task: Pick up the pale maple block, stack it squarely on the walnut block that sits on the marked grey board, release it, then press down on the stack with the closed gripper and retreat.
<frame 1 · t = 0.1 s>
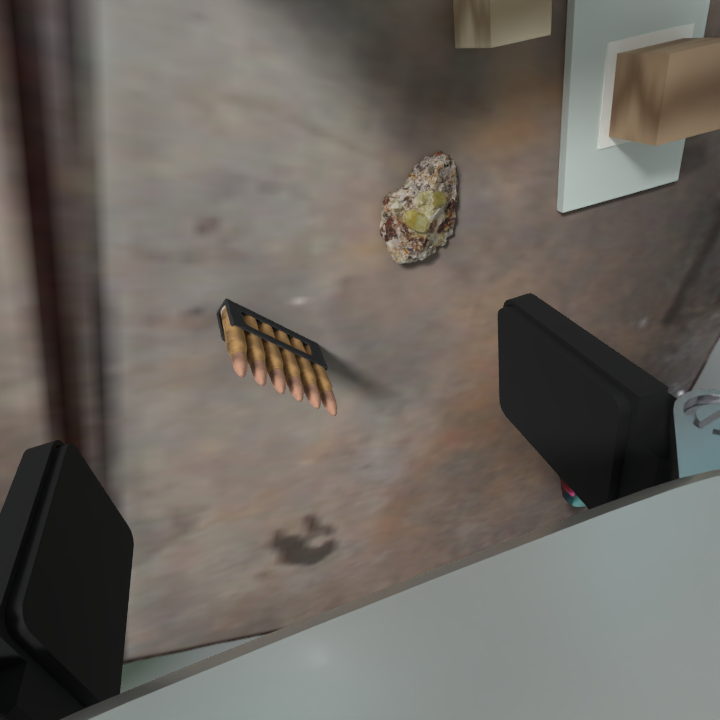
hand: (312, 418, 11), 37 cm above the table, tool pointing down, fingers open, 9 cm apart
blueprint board: (626, 90, 49), on the table
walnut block: (644, 88, 48), point 1 cm above the table, touching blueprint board
ammunition clip: (269, 328, 51), on the table
maple block: (481, 6, 42), on the table
mineral rock: (418, 207, 49), on the table
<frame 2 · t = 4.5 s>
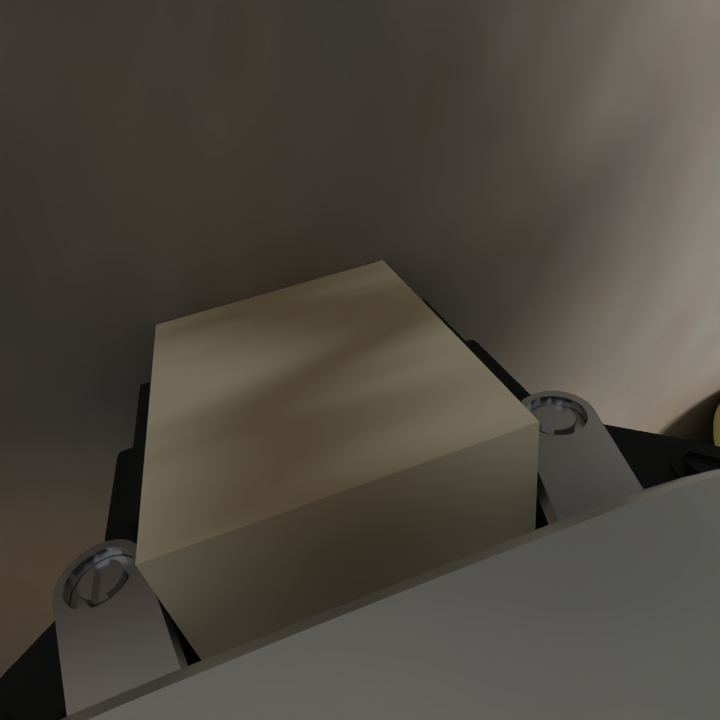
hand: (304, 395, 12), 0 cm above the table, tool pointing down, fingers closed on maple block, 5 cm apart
maple block: (300, 383, 12), on the table, touching gripper
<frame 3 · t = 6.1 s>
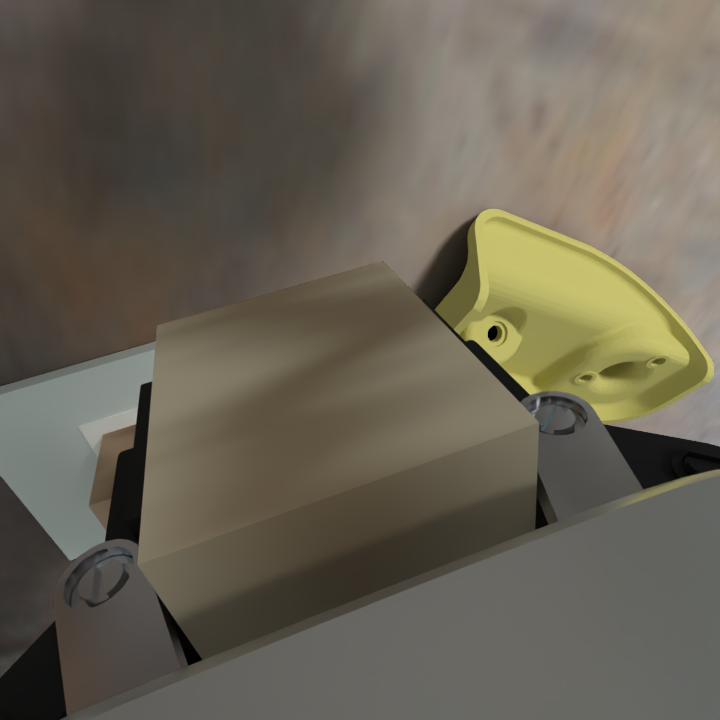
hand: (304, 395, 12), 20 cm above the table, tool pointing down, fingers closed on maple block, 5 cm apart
plastic component: (529, 322, 39), on the table
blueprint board: (174, 434, 34), on the table
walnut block: (179, 456, 34), point 1 cm above the table, touching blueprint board
maple block: (300, 384, 12), point 19 cm above the table, touching gripper
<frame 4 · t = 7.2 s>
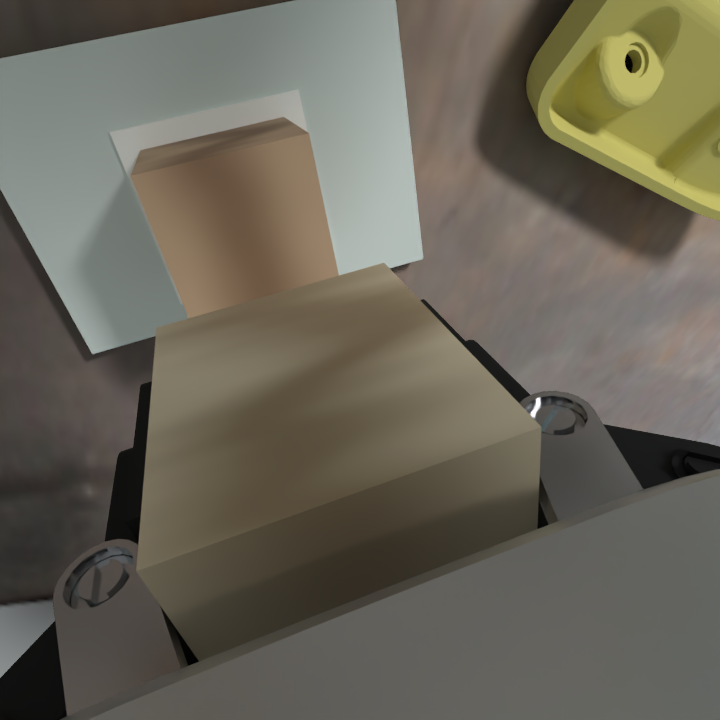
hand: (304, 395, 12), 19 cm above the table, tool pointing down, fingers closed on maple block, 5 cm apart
plastic component: (657, 84, 32), on the table
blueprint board: (227, 180, 27), on the table
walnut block: (235, 204, 27), point 1 cm above the table, touching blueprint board
maple block: (301, 386, 12), point 19 cm above the table, touching gripper
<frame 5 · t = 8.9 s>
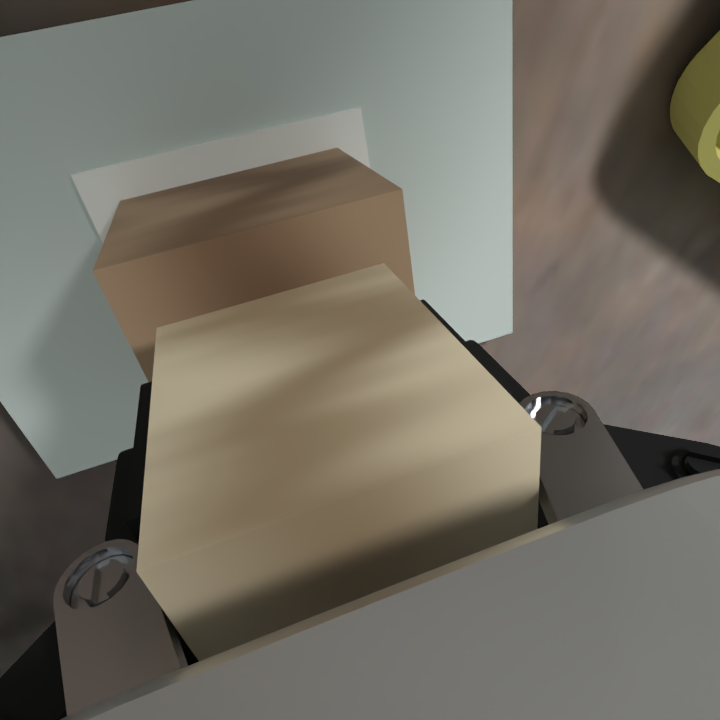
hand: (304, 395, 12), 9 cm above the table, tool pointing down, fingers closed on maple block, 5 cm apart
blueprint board: (250, 236, 19), on the table
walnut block: (262, 273, 18), point 1 cm above the table, touching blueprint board
maple block: (301, 386, 12), point 8 cm above the table, touching gripper
when the fingers open (8 cm above the table, at t = 10.0 s): maple block stays where it is, resting on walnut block.
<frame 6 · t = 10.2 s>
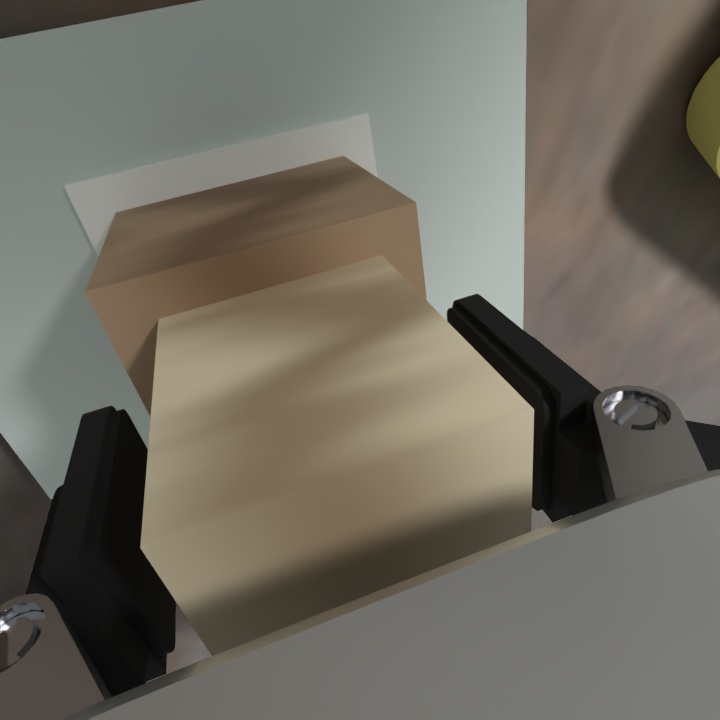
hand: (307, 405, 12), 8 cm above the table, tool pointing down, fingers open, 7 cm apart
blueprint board: (252, 247, 18), on the table
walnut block: (265, 286, 17), point 1 cm above the table, touching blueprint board, maple block
maple block: (300, 377, 12), point 7 cm above the table, touching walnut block
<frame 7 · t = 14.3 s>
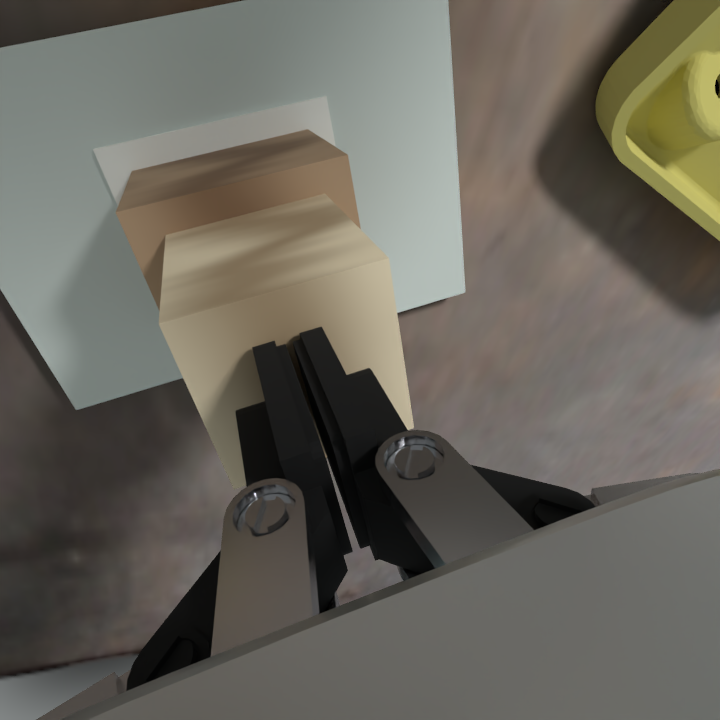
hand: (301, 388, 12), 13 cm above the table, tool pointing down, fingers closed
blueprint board: (238, 204, 22), on the table
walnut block: (247, 234, 22), point 1 cm above the table, touching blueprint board, maple block
maple block: (269, 286, 17), point 7 cm above the table, touching gripper, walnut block
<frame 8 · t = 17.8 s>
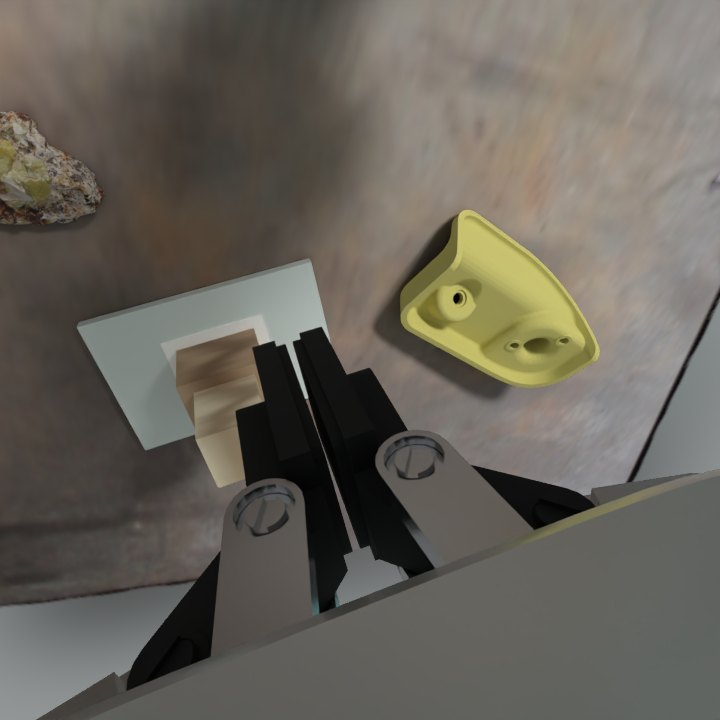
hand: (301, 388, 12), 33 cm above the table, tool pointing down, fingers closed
plastic component: (481, 302, 54), on the table
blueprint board: (223, 355, 48), on the table
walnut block: (227, 370, 47), point 1 cm above the table, touching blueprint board, maple block
maple block: (233, 407, 43), point 7 cm above the table, touching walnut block
mineral rock: (23, 172, 37), on the table
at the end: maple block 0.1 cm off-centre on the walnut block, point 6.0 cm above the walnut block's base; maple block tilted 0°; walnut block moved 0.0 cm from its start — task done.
